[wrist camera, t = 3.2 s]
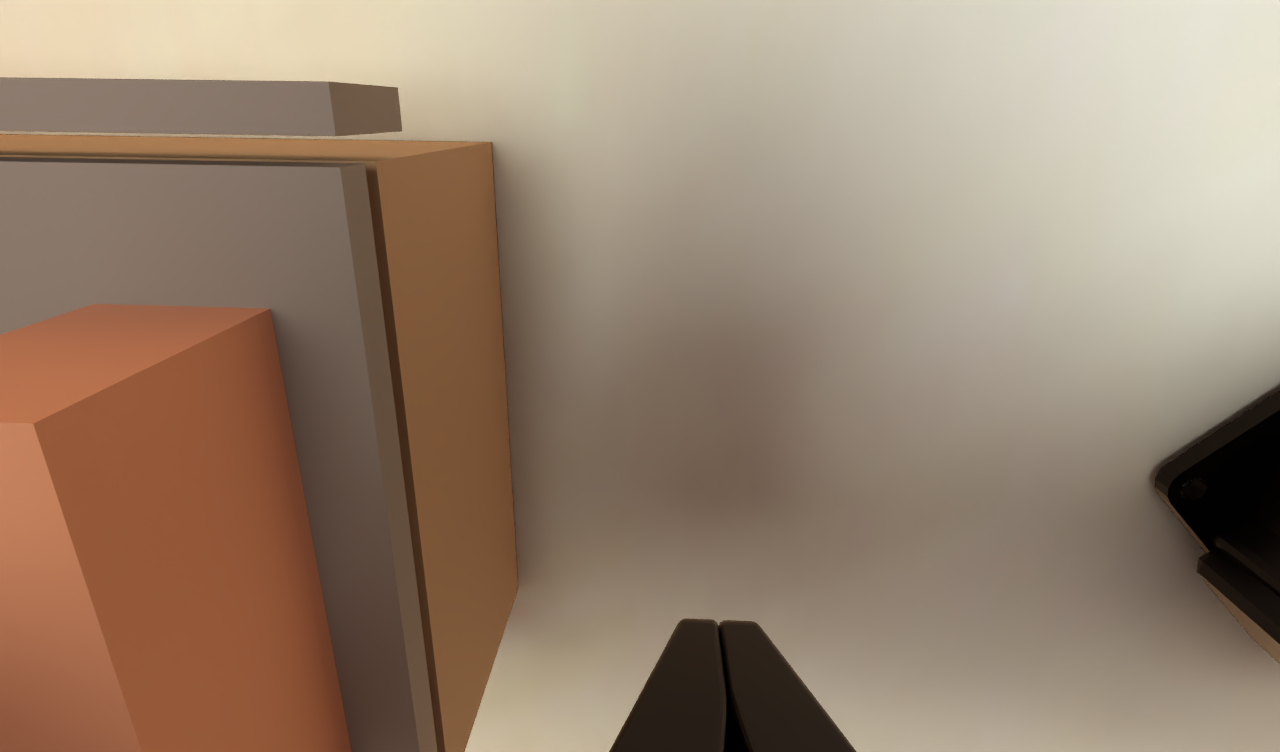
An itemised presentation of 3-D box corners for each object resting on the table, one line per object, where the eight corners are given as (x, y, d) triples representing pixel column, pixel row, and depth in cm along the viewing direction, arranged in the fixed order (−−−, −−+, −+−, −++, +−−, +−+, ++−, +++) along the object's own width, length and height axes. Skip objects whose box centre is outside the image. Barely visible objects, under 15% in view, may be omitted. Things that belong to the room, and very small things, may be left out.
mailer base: (491, 142, 13) (376, 161, 8) (518, 587, 16) (450, 793, 11) (-277, 129, 13) (-836, 140, 8) (-89, 562, 17) (-404, 748, 12)
